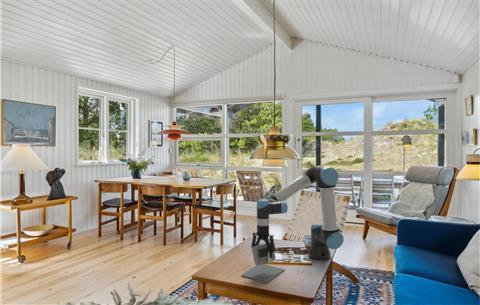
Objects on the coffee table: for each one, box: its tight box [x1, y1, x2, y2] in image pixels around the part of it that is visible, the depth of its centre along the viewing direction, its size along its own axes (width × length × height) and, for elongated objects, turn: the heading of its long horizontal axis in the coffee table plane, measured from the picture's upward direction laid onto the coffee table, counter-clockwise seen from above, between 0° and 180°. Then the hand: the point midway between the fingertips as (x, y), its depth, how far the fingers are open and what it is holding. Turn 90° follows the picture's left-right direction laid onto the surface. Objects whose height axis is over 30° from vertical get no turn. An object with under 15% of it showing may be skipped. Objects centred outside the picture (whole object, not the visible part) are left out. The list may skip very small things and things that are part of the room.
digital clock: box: [251, 242, 276, 266], centre depth 200 cm, size 16×9×11 cm, turn 116°
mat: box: [240, 263, 286, 284], centre depth 200 cm, size 22×18×1 cm
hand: (263, 261), depth 200 cm, fingers closed on digital clock, 8 cm apart
